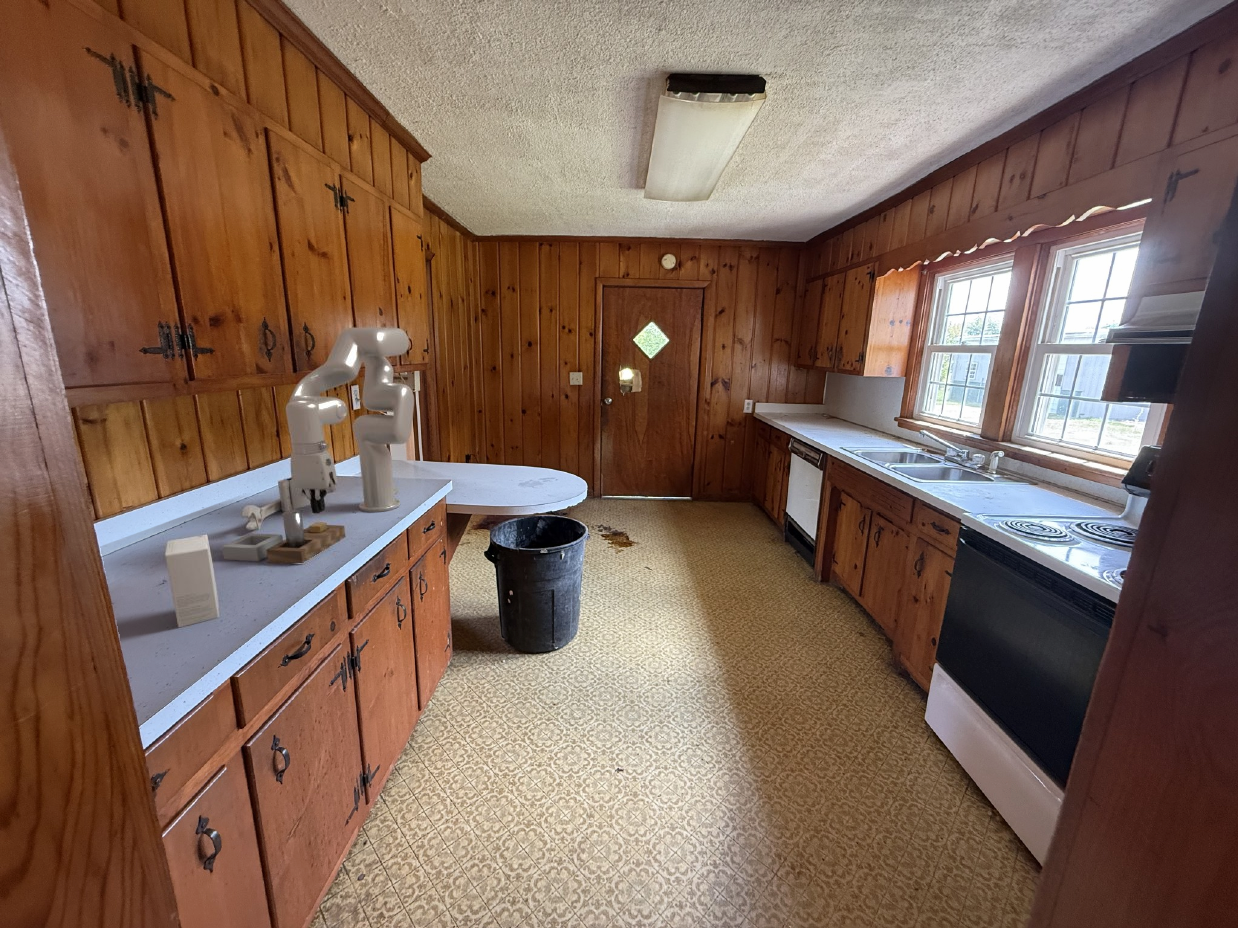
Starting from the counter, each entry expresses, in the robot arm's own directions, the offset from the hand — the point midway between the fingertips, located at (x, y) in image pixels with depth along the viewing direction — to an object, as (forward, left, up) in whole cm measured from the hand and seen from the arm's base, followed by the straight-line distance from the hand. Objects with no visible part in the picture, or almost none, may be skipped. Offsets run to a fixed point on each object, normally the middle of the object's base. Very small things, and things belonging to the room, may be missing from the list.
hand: (318, 511), depth 134 cm
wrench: (-15, -27, -9) cm, 32 cm away
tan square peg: (+1, 0, -8) cm, 9 cm away
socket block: (+5, 0, -9) cm, 10 cm away
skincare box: (+38, 0, -9) cm, 40 cm away
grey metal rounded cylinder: (+10, 0, -9) cm, 13 cm away
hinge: (-26, -26, -9) cm, 38 cm away
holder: (+9, -12, -9) cm, 18 cm away
